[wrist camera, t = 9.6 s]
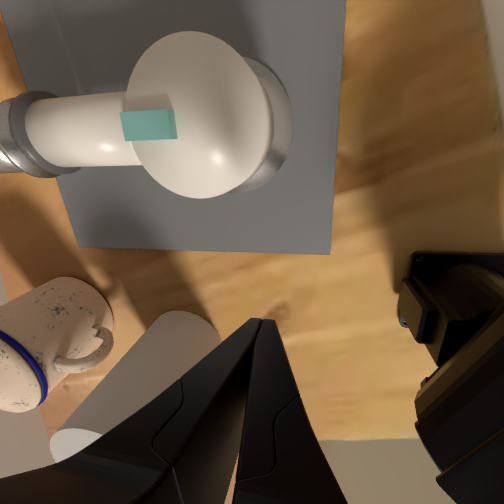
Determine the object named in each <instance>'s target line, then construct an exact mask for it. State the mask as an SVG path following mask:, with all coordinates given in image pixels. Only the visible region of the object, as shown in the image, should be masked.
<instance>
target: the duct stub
mask: <svg viewBox="0 0 504 504" xmlns="http://www.w3.org/2000/svg"><path fill="white" fill-rule="evenodd" d="M241 57H242V58H243V59H244V61H245V62H246V63H247V64H248V66H249V67H250V68H251V69H252V71H253V72H254V73H255V74H256V76H257V77H258V78H259V79H260V81H261V82H262V84H263V86H264V87H265V89H266V91H267V94H268V96H269V98H270V102H271V105H272V110H273V115H274V135H273V140H272V145H271V148H270V151H269V153H268V156H267V158H266V160H265V162H264V163H263V165H262V166H261V168H260V169H259V170H258V171H257V172H256V173H255V174H254V175H253V176H252V177H251V178H250V179H249V180H247V181H246V182H244V183H242V184H240V185H239V186H237V187H235V188H233V189H231V190H230V191H228V192H226V193H233V194H237V193H245V192H249V191H252V190H254V189H257V188H259V187H260V186H262V185H264V184H265V183H267V182H268V181H269V180H270V179H271V178H272V177H273V176H274V175H276V173H277V172H278V171H279V170H280V168H281V167H282V165H283V163H284V162H285V160H286V158H287V155H288V153H289V150H290V147H291V143H292V137H293V115H292V109H291V105H290V102H289V99H288V97H287V94H286V92H285V90H284V88H283V87H282V85H281V83H280V82H279V80H278V79H277V78H276V77H275V75H274V74H273V73H272V72H271V71H270V70H268V69H267V68H266V67H265V66H263V65H262V64H260V63H259V62H257V61H255V60H252V59H250V58H247V57H243V56H241Z"/></svg>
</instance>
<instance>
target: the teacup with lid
mask: <svg viewBox="0 0 504 504" xmlns="http://www.w3.org/2000/svg"><path fill="white" fill-rule="evenodd" d="M112 328H113V316H112V312H111V309H110V307H109V305H108V303H107V302H106V300H105V299H104V298H103V296H102V295H101V294H100V293H99V292H98V291H97V290H96V289H95V288H93V287H92V286H91V285H89V284H87V283H86V282H84V281H82V280H79V279H76V278H72V277H58V278H55V279H52V280H50V281H48V282H47V283H45V284H43V285H41V286H39V287H37V288H35V289H33V290H31V291H29V292H27V293H25V294H23V295H21V296H20V297H18V298H16V299H14V300H12V301H10V302H8V303H6V304H5V305H2V306H0V409H2V410H5V411H9V412H25V411H28V410H30V409H32V408H34V407H36V406H38V405H40V404H41V403H42V402H43V401H44V400H45V398H46V396H47V394H48V393H49V392H50V391H51V390H52V389H53V388H54V387H55V386H56V385H57V384H58V383H59V382H60V381H61V380H63V379H64V378H65V377H66V376H67V375H68V374H69V373H79V372H83V371H87V370H89V369H92V368H94V367H95V366H97V365H99V364H100V363H101V362H102V361H103V360H104V359H105V358H106V357H107V356H108V355H109V353H110V352H111V350H112V347H113V343H114V339H113V335H112V333H111V331H112ZM102 342H103V343H102ZM101 343H102V344H101ZM100 344H101V346H100V347H99V348H98V349H97V350H96V351H95V352H93V353H92V354H90V353H91V352H92V351H93V350H94V349H95V348H97V347H98V346H99V345H100ZM89 354H90V355H89Z"/></svg>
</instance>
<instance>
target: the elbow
mask: <svg viewBox="0 0 504 504" xmlns="http://www.w3.org/2000/svg"><path fill="white" fill-rule="evenodd" d="M8 122H9V128H10V131H11V134H12V137H13V139H14V141H15V143H16V145H17V147H18V148H19V149H20V151H21V152H22V153H23V155H24V156H25V157H26V158H27V159H28V160H29V161H30V162H31V163H33V164H34V165H35V166H37V167H38V168H40V169H42V170H44V171H46V172H49V173H53V174H71V173H75V172H77V171H78V170H80V169H81V168H82V167H91V166H130V165H143V167H144V168H145V169H146V170H147V172H148V173H149V174H150V175H151V176H152V177H153V178H154V179H155V180H156V181H157V182H158V183H160V184H161V185H162V186H164V187H165V188H167V189H168V190H170V191H172V192H174V193H176V194H179V195H182V196H185V197H190V198H198V199H202V198H211V197H216V196H219V195H221V194H224V193H226V192H228V191H230V190H231V189H233V188H235V187H237V186H239V185H240V184H242V183H244V182H246V181H247V180H249V179H250V178H251V177H252V176H253V175H254V174H255V173H256V172H257V171H258V170H259V169H260V168H261V166H262V165H263V163H264V162H265V160H266V158H267V156H268V153H269V151H270V148H271V145H272V140H273V135H274V115H273V110H272V105H271V102H270V98H269V96H268V94H267V91H266V89H265V87H264V86H263V84H262V82H261V81H260V79H259V78H258V77H257V76H256V74H255V73H254V72H253V71H252V69H251V68H250V67H249V66H248V64H247V63H246V62H245V61H244V59H243V58H242V57H241V56H240V54H238V53H237V52H236V51H235V50H234V49H233V48H232V47H231V46H230V45H228V44H227V43H225V42H224V41H222V40H221V39H219V38H216V37H214V36H212V35H209V34H206V33H203V32H195V31H183V32H177V33H173V34H170V35H168V36H165V37H163V38H161V39H160V40H158V41H157V42H155V43H154V44H153V45H152V46H150V47H149V48H148V49H147V50H146V51H145V52H144V54H143V55H142V56H141V57H140V59H139V60H138V62H137V64H136V65H135V67H134V69H133V72H132V74H131V76H130V80H129V83H128V86H127V91H124V92H113V93H102V94H92V95H81V96H71V97H58V96H56V95H54V94H52V93H50V92H46V91H29V92H24V93H21V94H19V95H18V96H17V97H15V99H14V100H13V101H12V103H11V105H10V108H9V113H8Z"/></svg>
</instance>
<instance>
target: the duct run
mask: <svg viewBox="0 0 504 504" xmlns="http://www.w3.org/2000/svg"><path fill="white" fill-rule="evenodd" d="M14 99H15V98H10V99H6V100H4V101H2V102H1V103H0V174H2V173H22V172H25V173H27V174H29V175H31V176H34V177H39V178H54V177H58V176H60V175H62V174H53V173H49V172H46V171H44V170H42V169H40V168H38V167H37V166H35V165H34V164H33V163H31V162H30V161H29V160H28V159H27V158H26V157H25V156H24V155H23V153H22V152H21V151H20V149H19V148H18V147H17V145H16V143H15V141H14V139H13V137H12V134H11V131H10V128H9V122H8V113H9V108H10V105H11V103H12V101H13V100H14Z"/></svg>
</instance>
